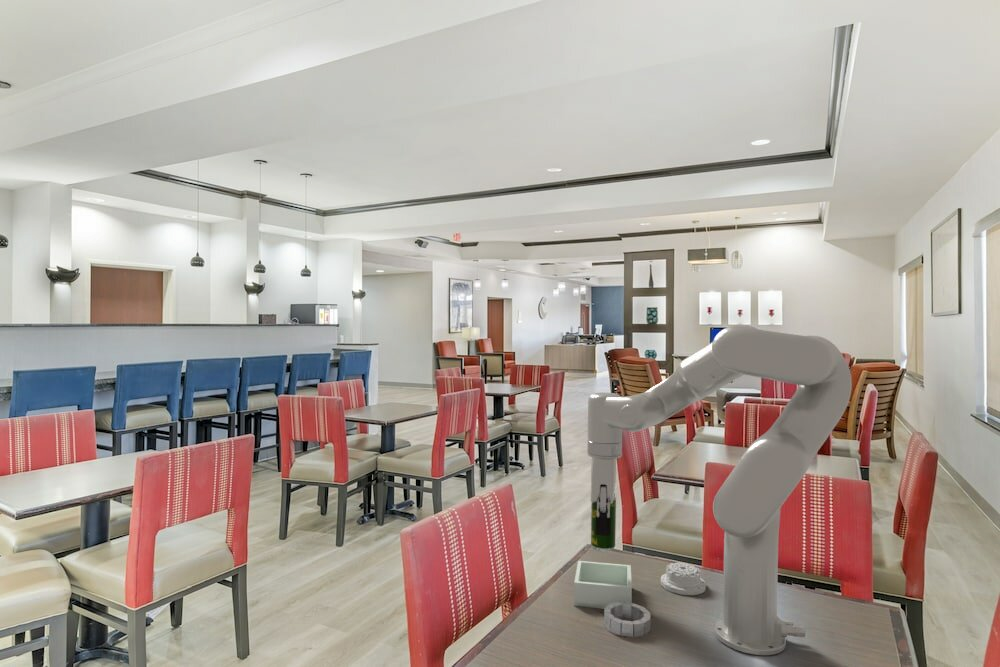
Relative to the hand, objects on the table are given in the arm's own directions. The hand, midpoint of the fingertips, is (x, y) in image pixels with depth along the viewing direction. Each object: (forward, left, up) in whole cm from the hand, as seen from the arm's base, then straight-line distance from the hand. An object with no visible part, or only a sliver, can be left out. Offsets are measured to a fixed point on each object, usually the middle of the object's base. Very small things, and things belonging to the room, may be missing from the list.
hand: (603, 529), depth 130 cm
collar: (-5, +12, -15) cm, 20 cm away
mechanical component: (-18, -9, -15) cm, 25 cm away
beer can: (0, 0, -4) cm, 4 cm away
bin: (0, 0, -15) cm, 15 cm away
